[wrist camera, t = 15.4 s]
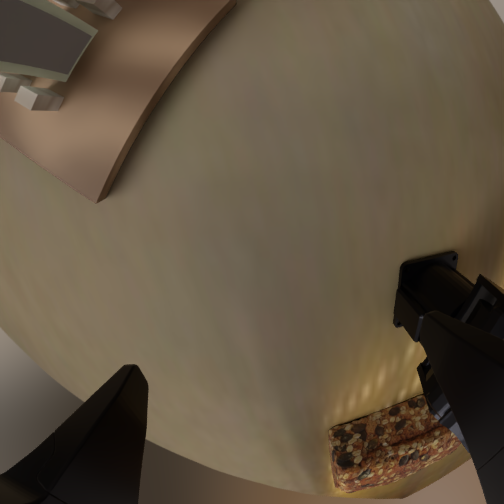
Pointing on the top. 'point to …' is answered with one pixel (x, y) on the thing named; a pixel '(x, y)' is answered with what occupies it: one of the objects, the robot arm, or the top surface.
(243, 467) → the top surface
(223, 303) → the top surface
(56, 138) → the tan board with pegs
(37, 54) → the pale panelled upright block
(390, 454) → the bread
